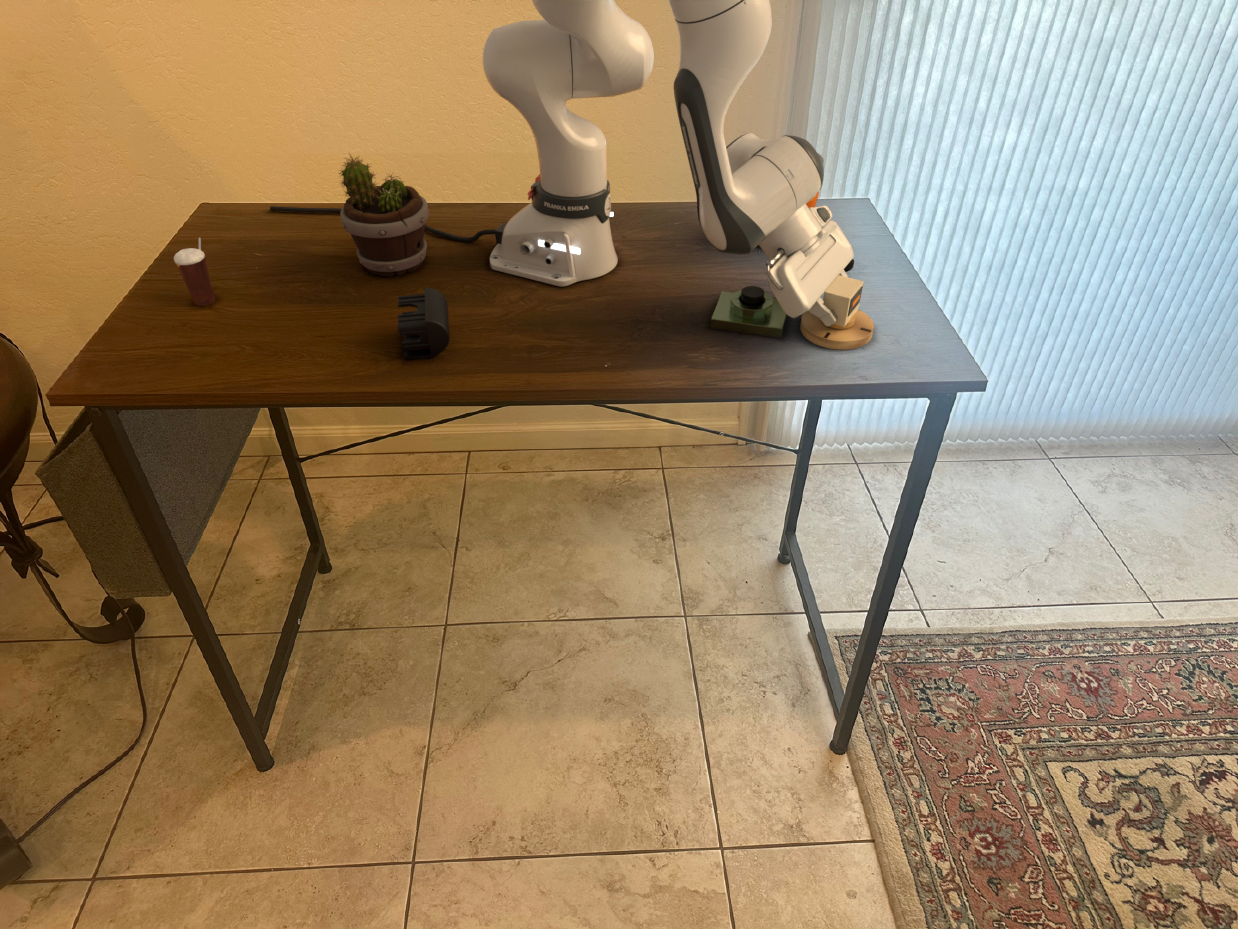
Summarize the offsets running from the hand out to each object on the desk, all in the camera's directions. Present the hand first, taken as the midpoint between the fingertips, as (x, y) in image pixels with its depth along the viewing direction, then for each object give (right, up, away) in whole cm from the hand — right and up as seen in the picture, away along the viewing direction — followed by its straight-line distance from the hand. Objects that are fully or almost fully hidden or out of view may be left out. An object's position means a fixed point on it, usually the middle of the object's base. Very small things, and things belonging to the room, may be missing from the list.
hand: (841, 311), depth 132 cm
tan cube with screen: (0, -1, +1) cm, 2 cm away
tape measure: (+2, +10, +18) cm, 21 cm away
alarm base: (-13, 0, +5) cm, 14 cm away
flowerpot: (-74, +12, +20) cm, 77 cm away
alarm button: (-13, +2, +3) cm, 14 cm away
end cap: (-63, -5, +1) cm, 64 cm away
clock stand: (0, -3, +2) cm, 3 cm away
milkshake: (-102, +4, +11) cm, 103 cm away
